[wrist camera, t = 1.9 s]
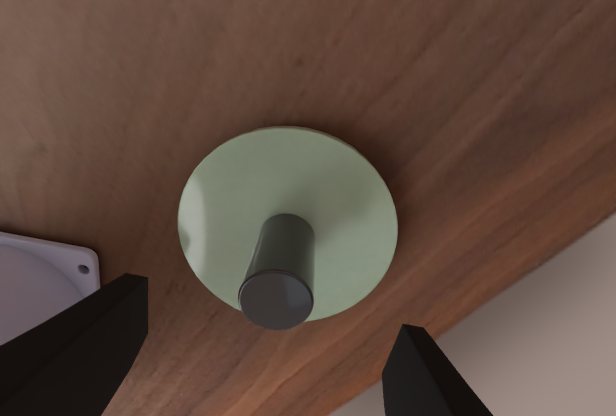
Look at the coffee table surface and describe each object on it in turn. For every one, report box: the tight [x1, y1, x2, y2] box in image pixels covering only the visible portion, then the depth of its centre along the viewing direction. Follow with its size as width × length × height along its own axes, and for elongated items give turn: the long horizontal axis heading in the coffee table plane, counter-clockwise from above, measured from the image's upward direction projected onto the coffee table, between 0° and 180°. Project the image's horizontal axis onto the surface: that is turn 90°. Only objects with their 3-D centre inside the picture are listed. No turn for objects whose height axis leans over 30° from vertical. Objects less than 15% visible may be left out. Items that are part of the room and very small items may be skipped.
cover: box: [178, 126, 398, 330], centre depth 13 cm, size 9×9×5 cm
